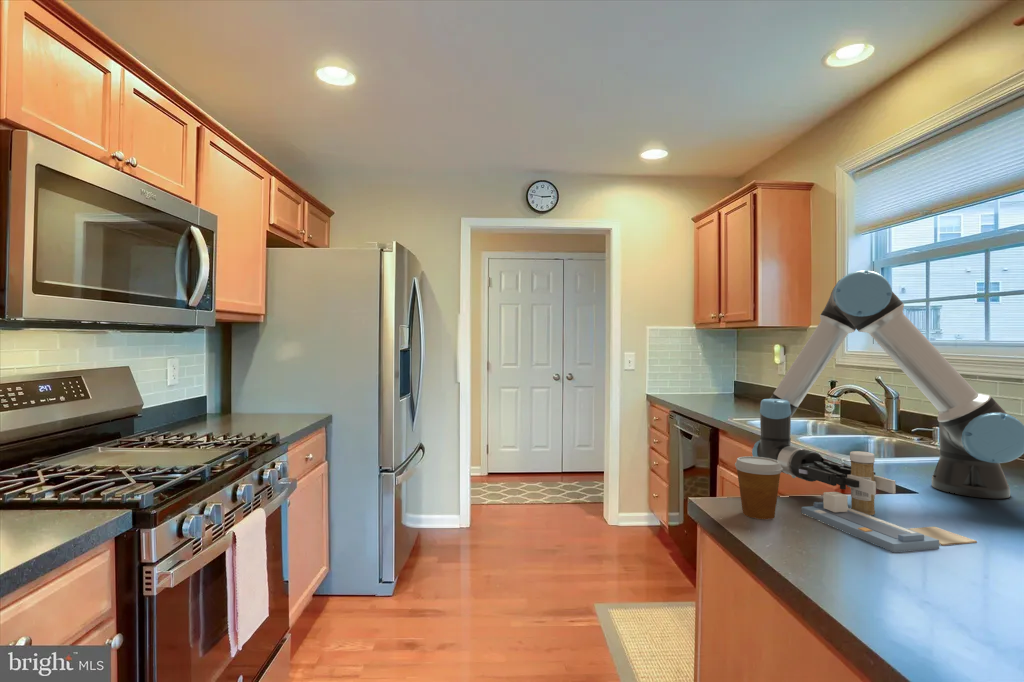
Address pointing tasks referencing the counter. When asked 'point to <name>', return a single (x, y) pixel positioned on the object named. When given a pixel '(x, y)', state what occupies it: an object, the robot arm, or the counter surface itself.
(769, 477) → the disposable coffee cup
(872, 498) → the sprinkles bottle
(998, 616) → the counter surface
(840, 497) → the ivory tab
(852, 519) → the switch board
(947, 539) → the cork coaster
